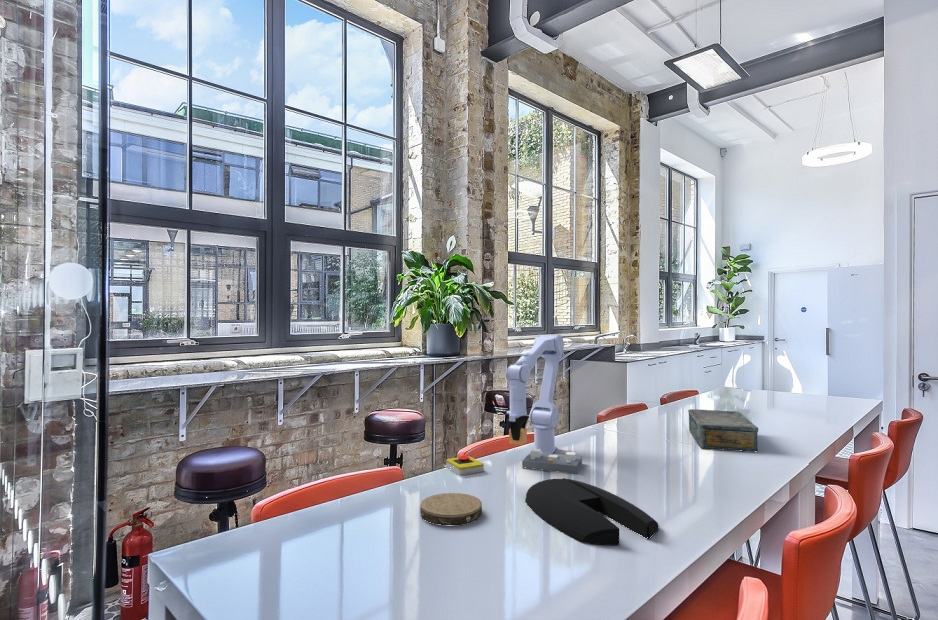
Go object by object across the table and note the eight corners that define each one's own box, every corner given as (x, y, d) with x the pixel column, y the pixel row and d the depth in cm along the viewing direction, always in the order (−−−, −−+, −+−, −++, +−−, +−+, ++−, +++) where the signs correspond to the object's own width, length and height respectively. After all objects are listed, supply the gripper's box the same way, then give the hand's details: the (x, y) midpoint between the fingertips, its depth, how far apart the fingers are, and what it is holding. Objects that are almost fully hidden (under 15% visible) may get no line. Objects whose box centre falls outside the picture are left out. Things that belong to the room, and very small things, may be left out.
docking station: (579, 483, 159) (579, 467, 159) (677, 536, 121) (677, 514, 121) (506, 494, 150) (506, 477, 150) (587, 554, 112) (586, 531, 112)
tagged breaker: (549, 463, 179) (549, 454, 179) (558, 464, 178) (558, 455, 178) (547, 465, 177) (547, 456, 177) (556, 466, 176) (556, 457, 176)
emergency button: (467, 451, 182) (488, 461, 168) (467, 463, 181) (488, 475, 168) (443, 454, 177) (462, 465, 164) (443, 467, 177) (462, 479, 164)
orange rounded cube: (513, 440, 184) (513, 427, 184) (526, 441, 183) (526, 428, 183) (509, 443, 180) (509, 430, 180) (523, 444, 178) (522, 431, 178)
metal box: (740, 434, 223) (740, 410, 223) (760, 453, 191) (760, 426, 191) (687, 431, 228) (686, 408, 228) (698, 450, 197) (697, 423, 197)
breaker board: (531, 458, 185) (530, 446, 185) (582, 463, 179) (581, 450, 179) (522, 468, 174) (522, 454, 174) (576, 473, 168) (576, 459, 168)
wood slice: (408, 513, 135) (408, 502, 135) (455, 499, 146) (455, 488, 146) (445, 533, 123) (445, 520, 123) (494, 516, 134) (494, 504, 134)
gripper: (512, 395, 189) (513, 432, 189) (500, 402, 176) (500, 442, 176) (531, 396, 187) (532, 434, 187) (520, 403, 173) (521, 443, 173)
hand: (518, 438), depth 181 cm, fingers closed on orange rounded cube, 5 cm apart
